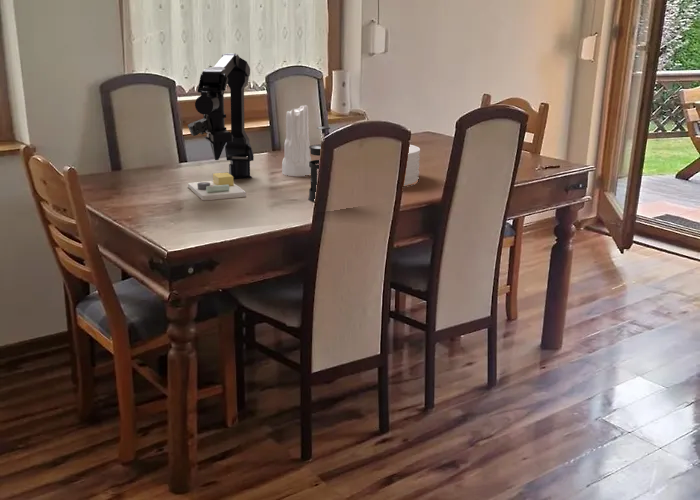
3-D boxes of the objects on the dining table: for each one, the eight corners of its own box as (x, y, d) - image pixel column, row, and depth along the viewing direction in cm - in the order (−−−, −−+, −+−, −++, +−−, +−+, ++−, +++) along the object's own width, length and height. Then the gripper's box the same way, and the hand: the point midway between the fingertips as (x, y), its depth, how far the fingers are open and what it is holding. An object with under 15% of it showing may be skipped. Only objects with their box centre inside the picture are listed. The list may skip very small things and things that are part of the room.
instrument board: (228, 183, 266) (228, 170, 264) (246, 196, 248) (245, 182, 247) (188, 187, 260) (187, 174, 259) (202, 200, 243) (201, 186, 242)
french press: (300, 199, 246) (300, 126, 240) (319, 194, 254) (319, 123, 247) (329, 205, 240) (330, 130, 233) (348, 200, 247) (349, 127, 240)
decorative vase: (277, 175, 282) (276, 105, 274) (290, 169, 291) (289, 102, 284) (304, 177, 278) (304, 107, 271) (316, 172, 287) (317, 103, 280)
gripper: (182, 108, 250) (184, 156, 254) (196, 115, 233) (198, 166, 238) (216, 106, 254) (218, 154, 259) (232, 113, 238) (234, 164, 242)
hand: (216, 159), depth 249 cm, fingers closed
